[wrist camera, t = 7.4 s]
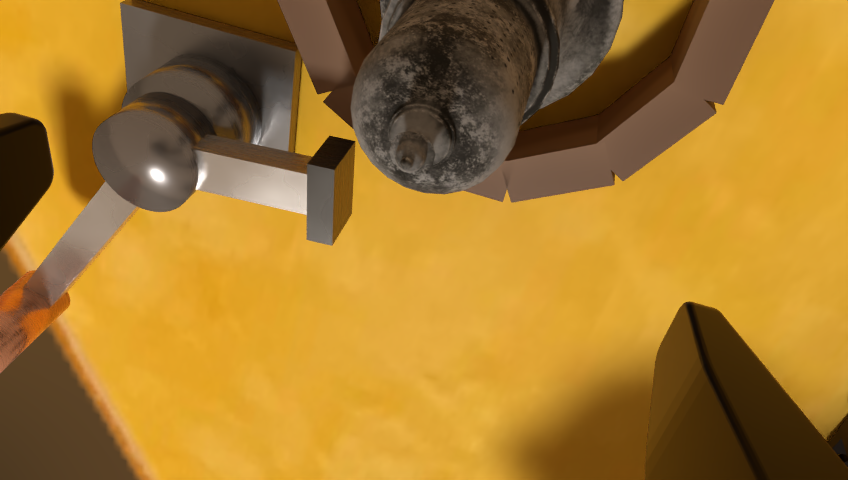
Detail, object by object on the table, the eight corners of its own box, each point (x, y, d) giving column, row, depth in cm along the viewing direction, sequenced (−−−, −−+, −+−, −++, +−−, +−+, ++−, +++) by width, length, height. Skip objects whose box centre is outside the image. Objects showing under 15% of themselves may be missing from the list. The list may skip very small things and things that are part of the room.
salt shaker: (389, 22, 21) (190, 239, 11) (453, -193, 18) (243, -139, 8) (567, 96, 21) (516, 377, 11) (668, -104, 17) (716, 60, 8)
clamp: (393, 178, 21) (348, 258, 17) (153, 380, 29) (91, 460, 26) (209, -1, 19) (119, 50, 16) (10, 270, 28) (-76, 341, 24)
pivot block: (302, 45, 22) (270, 73, 20) (290, 198, 26) (261, 235, 24) (130, -3, 23) (82, 20, 21) (142, 154, 26) (102, 186, 24)
